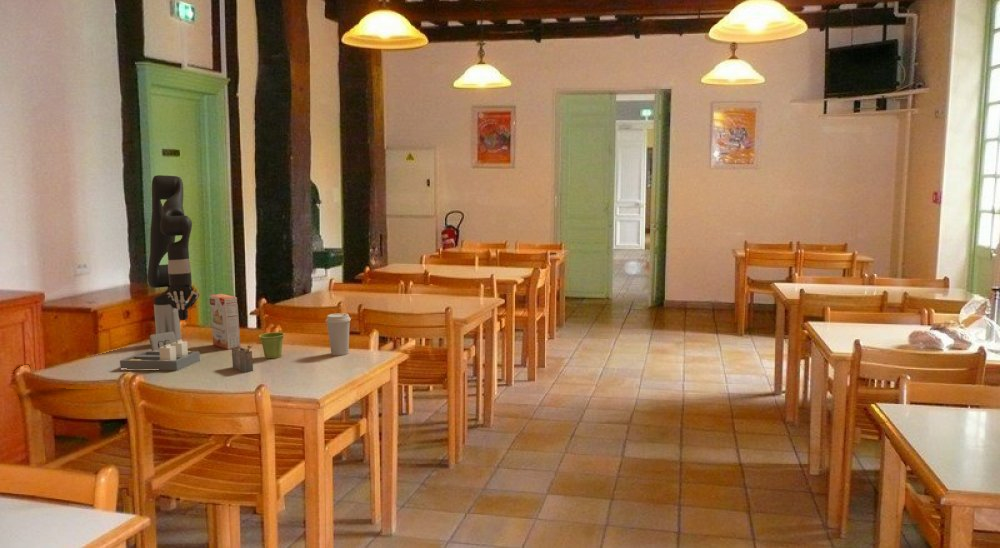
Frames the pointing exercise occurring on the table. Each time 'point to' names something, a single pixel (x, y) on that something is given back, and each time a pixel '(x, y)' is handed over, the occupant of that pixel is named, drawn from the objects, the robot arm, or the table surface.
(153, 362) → the grey compartment tray
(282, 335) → the plant pot
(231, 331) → the cracker box
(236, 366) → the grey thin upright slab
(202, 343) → the table surface
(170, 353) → the tab
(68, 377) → the table surface
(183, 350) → the white block
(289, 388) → the table surface
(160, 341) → the electrical switch
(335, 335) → the coffee cup
